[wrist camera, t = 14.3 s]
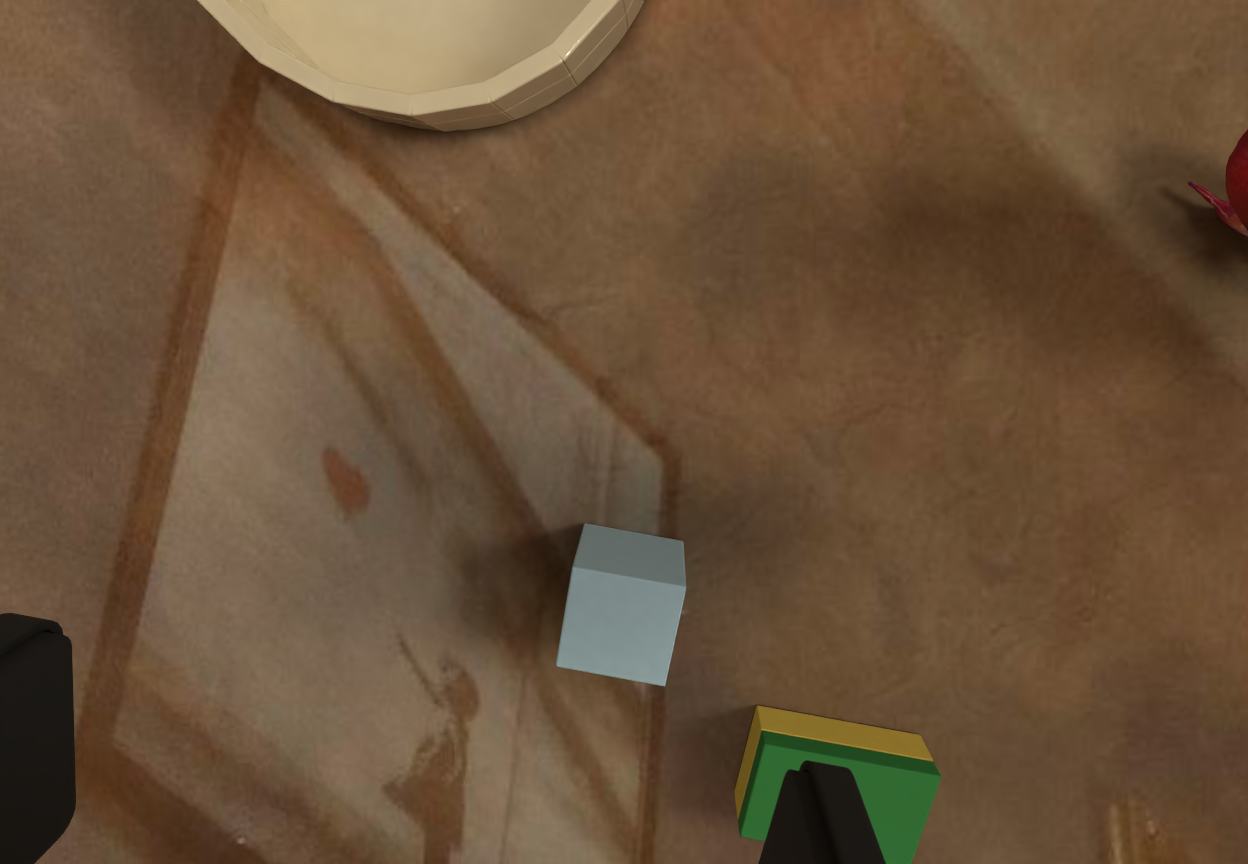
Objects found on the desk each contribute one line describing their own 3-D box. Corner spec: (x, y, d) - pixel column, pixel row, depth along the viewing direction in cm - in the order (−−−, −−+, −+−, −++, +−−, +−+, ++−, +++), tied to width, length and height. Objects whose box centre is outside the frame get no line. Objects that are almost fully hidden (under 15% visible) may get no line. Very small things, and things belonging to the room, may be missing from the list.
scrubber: (733, 792, 32) (739, 837, 30) (756, 704, 31) (764, 744, 28) (891, 820, 32) (910, 868, 29) (920, 734, 31) (942, 777, 28)
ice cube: (569, 611, 30) (555, 667, 26) (584, 522, 29) (571, 566, 25) (664, 628, 30) (665, 687, 26) (683, 540, 29) (686, 587, 25)
